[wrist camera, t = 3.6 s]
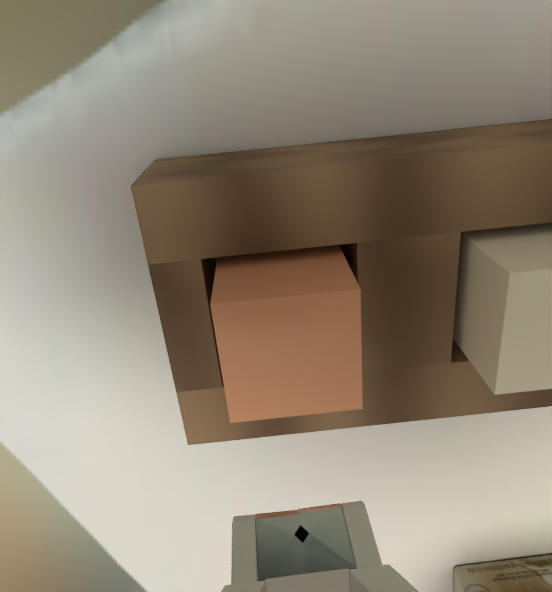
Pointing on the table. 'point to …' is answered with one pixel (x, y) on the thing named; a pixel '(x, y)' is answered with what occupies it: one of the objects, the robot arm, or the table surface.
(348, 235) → the key panel
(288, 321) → the terracotta key
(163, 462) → the table surface
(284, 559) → the robot arm
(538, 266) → the cream key
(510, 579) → the coffee box
